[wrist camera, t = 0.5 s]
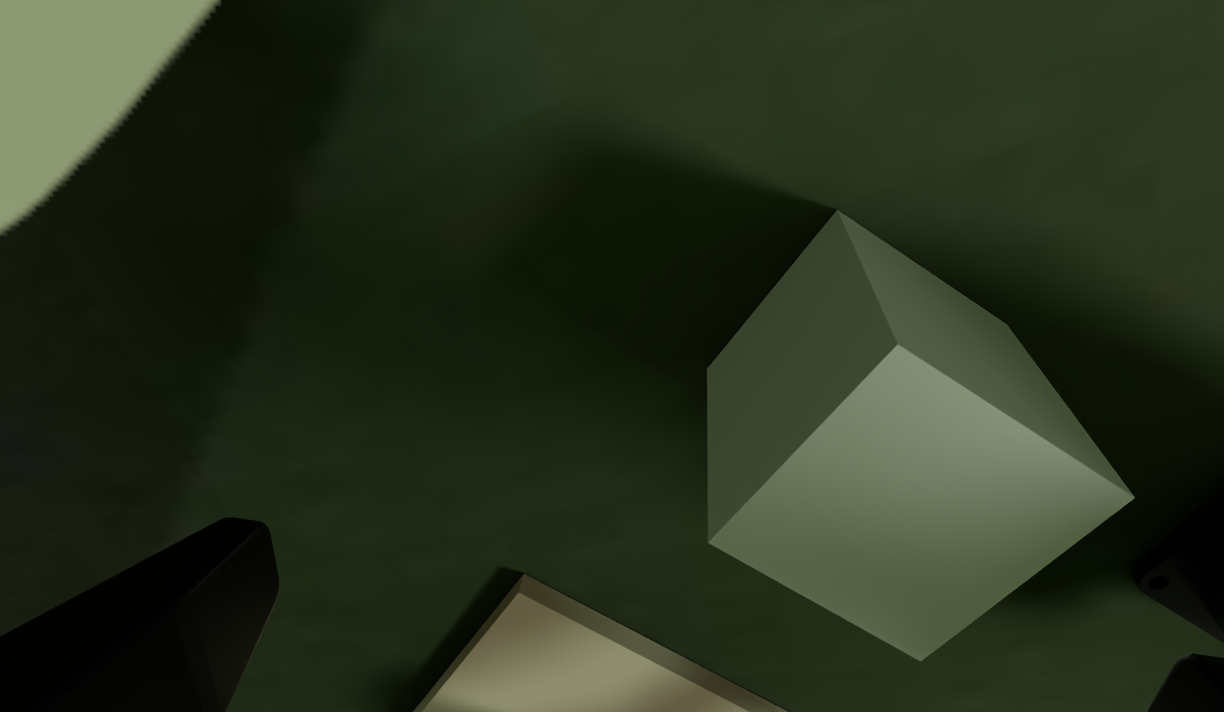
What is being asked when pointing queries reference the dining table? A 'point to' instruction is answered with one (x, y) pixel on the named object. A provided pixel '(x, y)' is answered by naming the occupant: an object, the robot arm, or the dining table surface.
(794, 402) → the pale grey block
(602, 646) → the peg on square board
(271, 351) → the dining table surface
